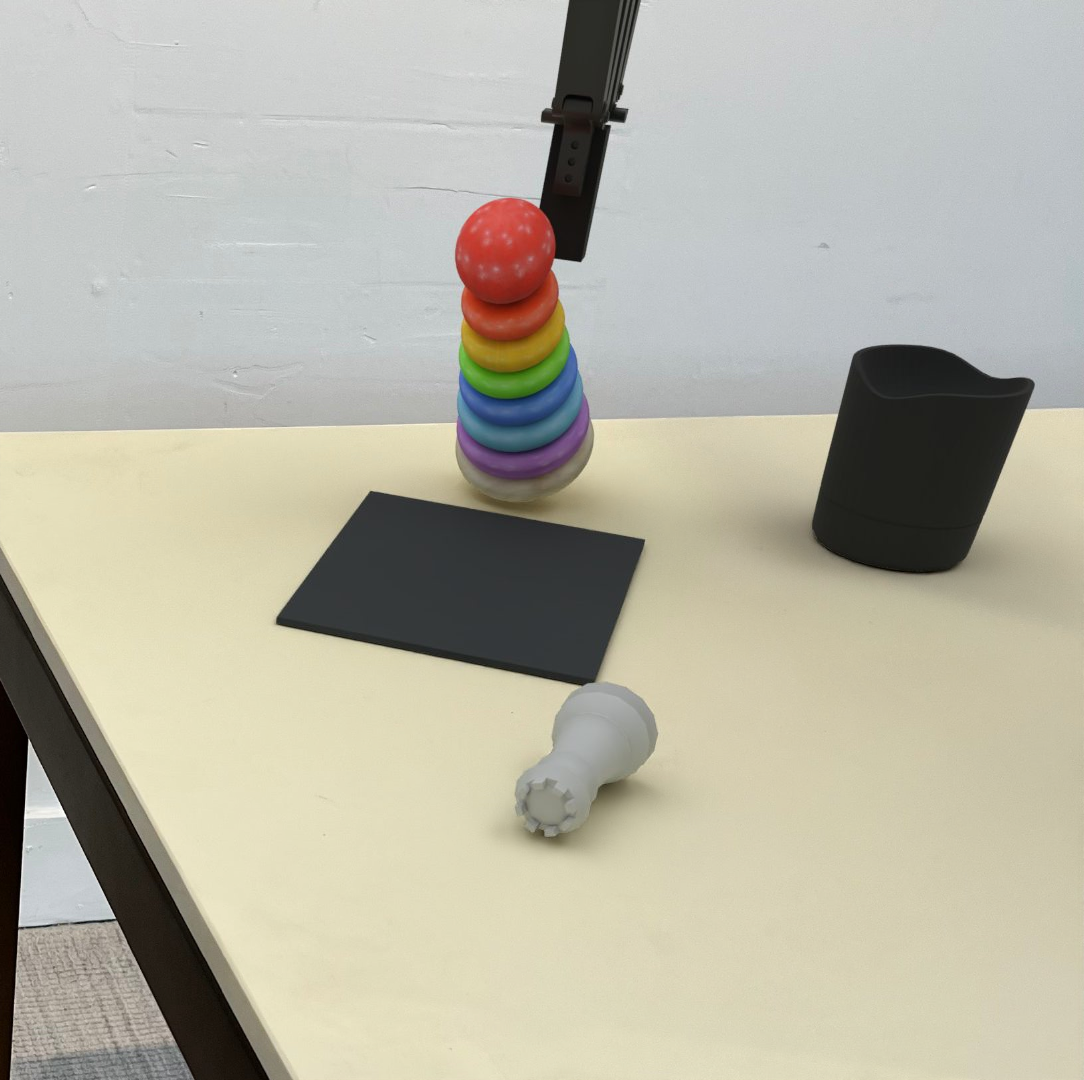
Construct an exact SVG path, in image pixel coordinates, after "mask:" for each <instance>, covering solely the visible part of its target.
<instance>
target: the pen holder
mask: <svg viewBox="0 0 1084 1080" xmlns="http://www.w3.org/2000/svg"><path fill="white" fill-rule="evenodd" d="M1035 385H1036V383H1035V381H1034V380H1033V379H1031V378H1029V377H1026V376H1025V377H1024V376H1018V377H1008V378H1003V377H1002V378H1001V377H996V376H992V375H989V374H987V373H985V372H983V371H982V370H980V369H979V368H978V367H976V366H974V365H973V364H972V363H970V362H968V361H967V360H965V359H964V358H963V357H960V356H959V355H958V354H955V353H953V352H952V351H948V350H946V349H944V348H938V347H935V346H929V345H922V344H907V343H906V344H900V343H899V344H898V343H893V344H878V345H871V346H866V347H864V348H861V349H859V350H857V351H855V352H854V353H853V355H852V358H851V361H850V366H849V369H848V374H847V377H846V381H845V386H844V389H843V393H842V398H841V401H840V406H839V408H838V414H837V418H836V421H835V425H834V429H833V432H832V438H831V441H830V446H829V449H828V453H827V457H826V461H825V464H824V469H823V473H822V477H821V481H820V486H819V489H818V494H817V499H816V501H815V502H816V503H815V507H814V511H813V514H812V515H813V516H812V521H811V529H812V532H813V535H814V537H815V539H816V541H818V542H819V543H820V544H821V545H822V546H823V547H825V548H826V549H828V550H829V551H831V552H832V553H835V554H837V555H838V556H841V557H844V558H846V559H848V560H852V561H854V562H857V563H861V564H864V565H868V566H873V567H877V568H881V569H887V570H893V571H902V572H903V571H904V572H916V573H918V572H919V573H920V572H921V573H924V572H937V571H943V570H947V569H951V568H953V567H955V566H956V565H958V564H959V563H961V562H962V561H964V560H965V558H967V556H968V554H969V552H970V551H971V548H972V546H973V543H974V542H975V538H976V536H977V534H978V532H979V529H980V527H981V524H982V521H983V519H984V516H985V515H986V512H987V510H988V508H989V505H990V503H991V499H992V497H993V494H994V492H995V489H996V487H997V484H998V482H999V479H1000V477H1001V475H1002V471H1003V469H1004V466H1005V464H1006V461H1007V459H1008V456H1009V454H1010V451H1011V450H1012V449H1011V448H1012V447H1013V443H1014V441H1015V438H1016V436H1017V433H1018V430H1019V428H1020V426H1021V423H1022V420H1023V418H1024V416H1025V413H1026V410H1027V408H1028V405H1029V403H1030V400H1031V398H1032V394H1033V392H1034V389H1035Z"/></svg>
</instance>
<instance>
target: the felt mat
mask: <svg viewBox="0 0 1084 1080" xmlns="http://www.w3.org/2000/svg"><path fill="white" fill-rule="evenodd" d="M645 543H646V539H645V538H639V537H635V536H629V535H624V534H618V533H612V532H606V531H601V530H597V529H589V528H584V527H577V526H572V525H568V524H567V525H566V524H561V523H557V522H550V521H545V520H538V519H532V518H527V517H522V516H516V515H510V514H506V513H505V514H504V513H499V512H493V511H487V510H483V509H477V508H471V507H466V506H460V505H454V504H449V503H443V502H438V501H437V502H436V501H431V500H425V499H422V498H421V499H419V498H415V497H409V496H403V495H398V494H392V493H388V492H387V493H386V492H380V491H375V490H369V492H368V493H367V494H366V496H365V497H364V499H363V500H362V501H361V502H360V504H359V505H358V506H357V508H356V509H355V510H354V512H353V513H352V515H351V516H350V518H349V519H348V520H347V522H346V523H345V524H344V525H343V527H342V528H341V529H340V531H339V532H338V534H337V535H336V536H335V537H334V539H333V540H332V541H331V542H330V544H329V545H328V547H327V549H326V550H325V551H324V552H323V554H322V555H321V556H320V558H319V559H318V561H317V562H316V563H315V564H314V566H313V567H312V568H311V570H310V571H309V573H308V574H307V575H306V576H305V578H304V579H303V580H302V582H301V583H300V585H299V586H298V587H297V589H296V590H295V592H293V594H292V595H291V596H290V598H289V600H288V601H287V602H286V603H285V604H284V606H283V608H282V609H281V610H280V612H279V613H278V614H277V616H276V619H275V623H276V624H277V625H281V626H287V627H290V628H291V627H292V628H296V629H301V630H307V631H310V632H311V631H312V632H316V633H317V632H318V633H322V634H326V635H332V636H335V637H336V636H337V637H341V638H346V639H351V640H357V641H362V642H365V643H366V642H367V643H371V644H375V645H382V646H387V647H392V648H397V649H402V650H406V651H412V652H416V653H421V654H426V655H432V656H437V657H441V658H447V659H452V660H457V661H462V662H467V663H471V664H477V665H482V666H487V667H493V668H497V669H502V670H507V671H512V672H515V673H516V672H517V673H521V674H527V675H531V676H536V677H542V678H547V679H552V680H557V681H561V682H566V683H572V684H578V685H582V686H584V685H586V684H588V683H596V680H597V678H598V674H599V672H600V669H601V666H602V663H603V661H604V658H605V654H606V652H607V650H608V647H609V644H610V641H611V638H612V635H613V632H614V630H615V627H616V626H617V625H616V624H617V621H618V619H619V616H620V614H621V610H622V608H623V605H624V602H625V599H626V598H627V597H626V596H627V594H628V591H629V588H630V586H631V582H632V580H633V577H634V574H635V571H636V569H637V566H638V563H639V560H640V557H641V556H642V552H643V549H644V547H645Z"/></svg>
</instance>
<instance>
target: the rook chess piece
mask: <svg viewBox="0 0 1084 1080" xmlns="http://www.w3.org/2000/svg"><path fill="white" fill-rule="evenodd" d="M655 717H656V716H655V714H654V713H653V711H652V710H651V708H650V707H649V706H648V704H647V703H646V701H645V700H644V698H642V697H641V696H640V695H638V694H637V693H635V692H634V691H633V690H632V689H630V688H628V687H627V686H624V685H621V684H616V683H613V682H610V681H600V682H595V683H588V684H586V685H582V686H580V687H578V688H577V689H575V690H573V691H571V692H570V694H568V696H567V697H566V699H565V700H564V702H563V703H562V704H561V706H560V708H559V710H558V711H557V713H556V714H555V716H554V721H553V724H552V725H553V726H552V731H551V740H552V750H551V752H550V753H549V754H547V755H545V756H543V757H541V758H540V760H539V761H538V762H537V764H535V765H533V766H531V767H529V768H527V769H525V770H523V772H522V773H521V775H520V776H519V778H518V779H517V780H516V784H515V790H514V797H515V801H516V803H515V805H514V806H513V807H514V810H515V814H516V817H522V816H523V817H524V818H525V820H526V822H525V824H524V825H523V827H524V828H525V829H527V830H528V831H529V832H531V833H533V834H534V833H535V832H536V831H537V829H539V830H542V831H543V832H544V837H547V838H549V837H557V835H558V834H567V833H568V834H569V833H570V832H573V831H575V830H577V829H579V828H581V827H582V825H583V824H585V821H587V819H588V818H589V815H590V811H591V806H592V804H593V802H594V801H595V799H597V796H598V790H599V788H600V787H601V786H602V785H604V784H605V785H606V784H612V783H613V784H614V783H617V782H620V781H621V780H624V779H626V778H628V777H630V776H632V775H633V774H635V773H637V772H638V770H639V769H640V768H641V766H643V765H644V764H645V763H646V762H647V761H648V760H649V758H650V757H651V756H652V755H653V754H654V752H655V750H656V745H657V740H658V736H659V731H658V727H657V722H656V721H657V720H656V718H655Z"/></svg>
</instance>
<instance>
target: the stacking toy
mask: <svg viewBox="0 0 1084 1080" xmlns="http://www.w3.org/2000/svg"><path fill="white" fill-rule="evenodd" d="M555 247H556V244H555V236H554V232H553V229H552V226H551V224H550V222H549V220H548V218H547V217H546V215H545V214H544V213H543V212H542V211H541V210H540V209H539V206H537V205H535V204H534V203H532V202H530V201H528V200H525V199H522V198H519V197H518V198H516V197H502V198H498V199H497V198H496V199H493V200H491V201H488V202H486V203H484V204H483V205H481V206H480V207H479V208H476V210H474V211H473V212H472V213H471V214H470V215H469V217H468V218H467V219H466V220H465V222H464V223H463V225H462V226H461V229H460V231H459V234H458V236H457V239H456V243H455V249H454V262H455V267H456V271H457V274H458V277H459V279H460V281H461V283H462V284H463V285H464V287H463V289H462V291H461V292H462V293H461V297H460V308H461V313H462V316H463V318H462V322H461V327H460V338H461V341H460V344H459V348H458V363H459V373H458V386H459V388H458V392H457V397H456V410H457V418H456V438H455V444H454V445H455V448H454V449H455V459H456V463H457V466H458V468H459V469H458V470H459V471H460V473H461V474H462V476H463V477H464V479H465V480H466V481H467V482H468V484H469V485H471V486H472V487H473V489H475V490H476V491H478V492H479V493H481V494H483V495H485V496H487V497H488V498H492V499H494V500H497V501H501V502H502V501H503V502H506V503H507V502H508V503H523V502H524V503H525V502H530V501H531V502H533V501H538V500H539V499H540V500H541V499H545V498H548V497H550V496H553V495H555V494H556V493H558V492H561V491H562V490H564V489H565V488H568V486H569V485H570V484H572V483H573V482H574V481H576V479H577V478H578V477H579V476H580V475H581V473H582V472H583V471H584V469H585V468H586V466H587V465H588V462H589V461H590V459H591V456H592V453H593V449H594V445H595V444H594V442H595V430H594V425H593V422H592V419H591V416H590V415H591V413H590V406H589V402H588V398H587V396H586V394H585V392H584V383H583V379H582V375H581V373H580V370H579V363H578V358H577V354H576V351H575V348H574V346H573V345H572V343H571V340H570V339H571V338H570V333H569V330H568V328H567V325H566V314H565V310H564V307H563V303H562V302H561V300H560V298H559V296H560V287H559V282H558V279H557V277H556V274H555V272H554V271H553V270H552V267H553V265H554V261H555V259H554V256H555Z"/></svg>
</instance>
